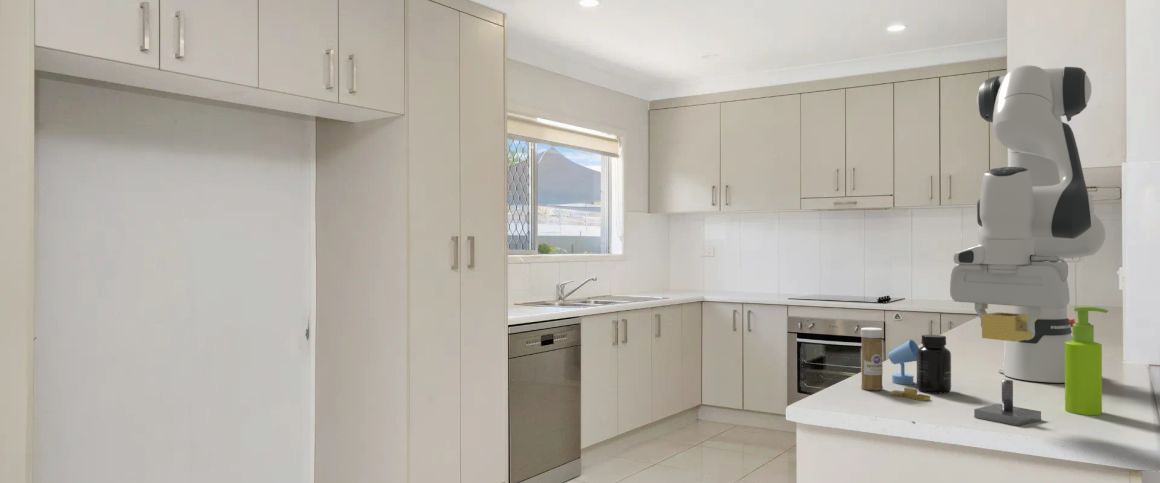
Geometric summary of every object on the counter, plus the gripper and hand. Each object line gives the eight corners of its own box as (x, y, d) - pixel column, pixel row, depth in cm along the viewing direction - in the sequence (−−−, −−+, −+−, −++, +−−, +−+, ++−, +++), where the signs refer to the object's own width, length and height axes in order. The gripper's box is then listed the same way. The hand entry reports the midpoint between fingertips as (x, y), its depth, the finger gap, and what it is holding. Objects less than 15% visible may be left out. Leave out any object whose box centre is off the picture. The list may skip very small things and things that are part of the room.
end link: (999, 335, 146) (999, 312, 146) (1032, 338, 141) (1032, 314, 141) (982, 337, 143) (981, 314, 142) (1015, 341, 138) (1015, 317, 138)
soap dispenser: (1109, 417, 142) (1109, 309, 142) (1065, 413, 146) (1064, 307, 145) (1107, 410, 147) (1107, 306, 147) (1065, 406, 151) (1064, 305, 150)
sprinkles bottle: (871, 391, 166) (871, 329, 166) (856, 388, 171) (856, 327, 171) (887, 389, 168) (887, 328, 168) (872, 386, 172) (871, 326, 172)
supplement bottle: (955, 394, 163) (954, 338, 163) (920, 393, 164) (920, 337, 164) (946, 388, 170) (946, 333, 169) (913, 387, 171) (913, 333, 171)
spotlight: (924, 382, 176) (893, 379, 180) (923, 339, 175) (893, 336, 180) (916, 386, 172) (885, 382, 177) (916, 341, 172) (885, 338, 177)
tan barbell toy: (896, 393, 164) (896, 385, 164) (930, 399, 158) (930, 391, 158) (889, 394, 163) (889, 386, 163) (923, 401, 157) (923, 392, 157)
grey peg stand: (997, 411, 147) (997, 374, 147) (1041, 419, 141) (1040, 381, 141) (974, 417, 143) (974, 379, 143) (1018, 426, 136) (1018, 386, 136)
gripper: (1076, 255, 135) (1076, 334, 135) (963, 253, 152) (963, 323, 152) (1058, 256, 131) (1059, 337, 131) (945, 254, 148) (945, 325, 148)
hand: (1007, 329), depth 142 cm, fingers closed on end link, 6 cm apart
